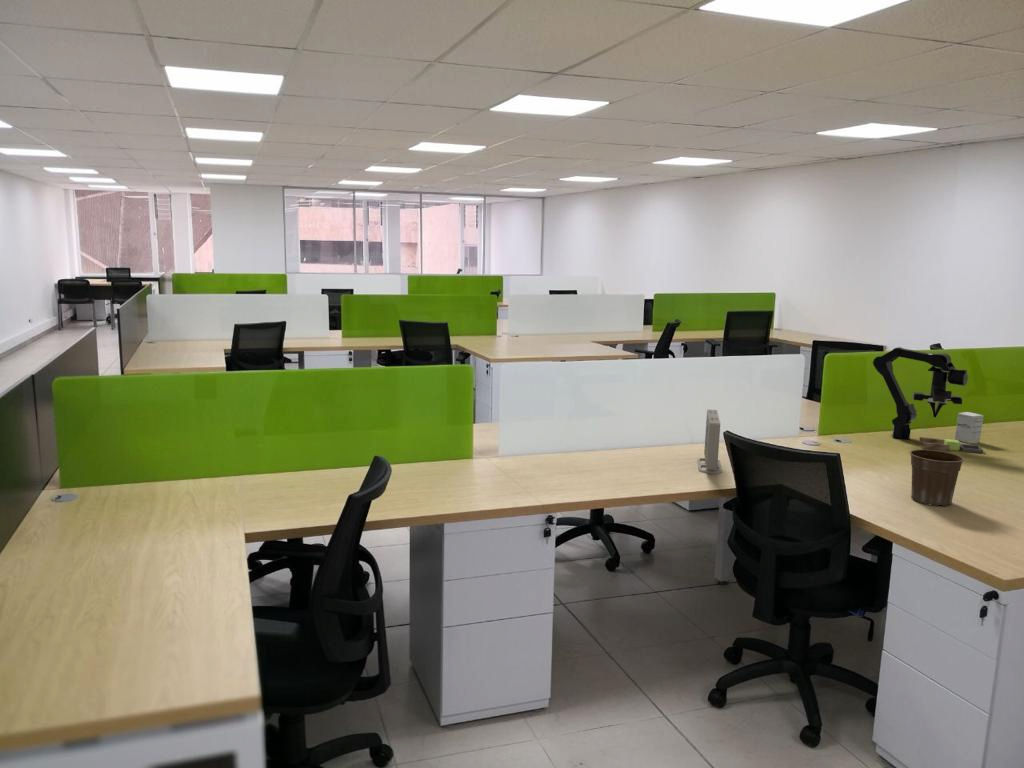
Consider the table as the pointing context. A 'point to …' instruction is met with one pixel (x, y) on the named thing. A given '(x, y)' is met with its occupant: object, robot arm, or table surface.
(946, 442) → the lime block
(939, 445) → the lane rails
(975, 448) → the trap pit
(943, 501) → the plant pot
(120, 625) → the table surface
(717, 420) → the network device
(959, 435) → the supplement box
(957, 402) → the robot arm
